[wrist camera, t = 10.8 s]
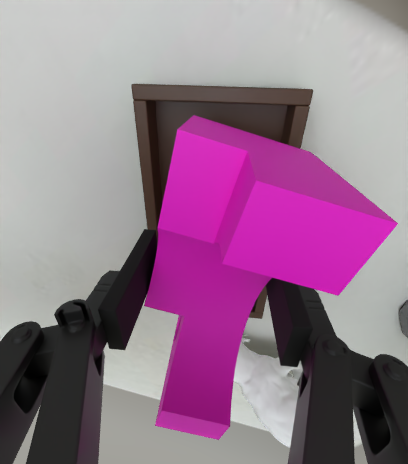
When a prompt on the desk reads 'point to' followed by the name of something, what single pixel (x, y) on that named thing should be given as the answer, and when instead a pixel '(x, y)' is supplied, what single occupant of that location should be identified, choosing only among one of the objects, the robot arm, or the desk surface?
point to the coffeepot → (404, 319)
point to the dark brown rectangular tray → (215, 109)
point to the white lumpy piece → (269, 390)
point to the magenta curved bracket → (243, 253)
